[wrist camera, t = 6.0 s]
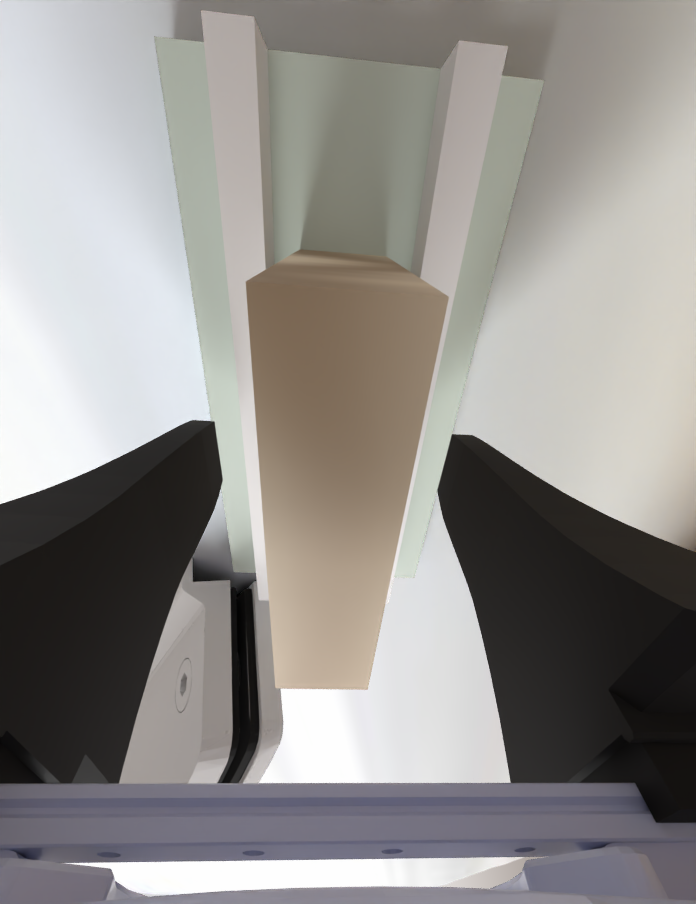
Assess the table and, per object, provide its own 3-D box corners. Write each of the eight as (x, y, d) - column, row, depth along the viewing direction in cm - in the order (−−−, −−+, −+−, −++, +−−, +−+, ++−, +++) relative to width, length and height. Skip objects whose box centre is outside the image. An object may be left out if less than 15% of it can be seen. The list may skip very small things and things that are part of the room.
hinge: (185, 550, 18) (180, 821, 11) (269, 558, 21) (306, 779, 14) (99, 688, 25) (64, 904, 18) (170, 680, 28) (163, 865, 21)
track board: (525, 92, 9) (581, 54, 7) (410, 562, 19) (420, 604, 17) (171, 54, 9) (118, 0, 7) (238, 556, 18) (225, 599, 16)
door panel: (386, 256, 10) (449, 296, 4) (356, 514, 16) (367, 689, 10) (299, 249, 10) (245, 282, 4) (299, 512, 16) (275, 688, 10)
